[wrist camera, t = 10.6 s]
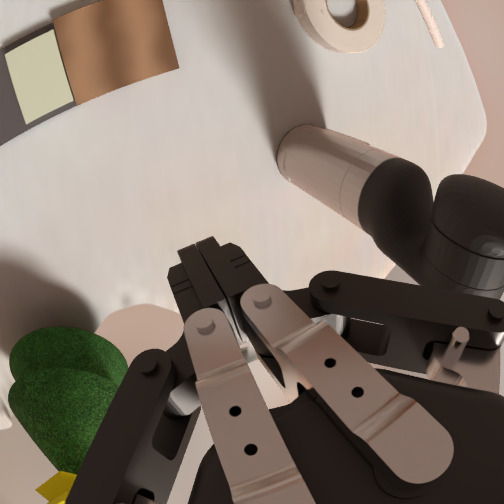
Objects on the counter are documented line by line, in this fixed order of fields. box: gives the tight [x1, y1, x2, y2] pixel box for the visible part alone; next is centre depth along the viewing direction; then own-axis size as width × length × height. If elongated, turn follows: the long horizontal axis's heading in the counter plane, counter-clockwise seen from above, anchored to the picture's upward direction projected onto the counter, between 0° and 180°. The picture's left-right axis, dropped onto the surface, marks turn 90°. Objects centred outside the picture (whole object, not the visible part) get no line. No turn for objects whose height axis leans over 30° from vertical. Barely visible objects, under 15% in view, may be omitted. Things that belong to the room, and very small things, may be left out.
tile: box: [5, 30, 75, 124], centre depth 25 cm, size 6×9×2 cm, turn 12°
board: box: [53, 0, 179, 106], centre depth 27 cm, size 12×11×2 cm
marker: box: [415, 0, 444, 48], centre depth 38 cm, size 18×2×2 cm, turn 40°
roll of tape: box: [293, 0, 385, 53], centre depth 34 cm, size 16×15×3 cm
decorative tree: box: [8, 327, 128, 504], centre depth 33 cm, size 19×19×30 cm
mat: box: [0, 23, 77, 146], centre depth 25 cm, size 12×11×1 cm
